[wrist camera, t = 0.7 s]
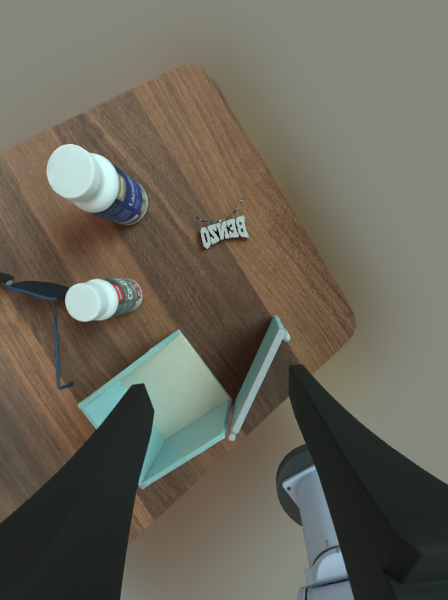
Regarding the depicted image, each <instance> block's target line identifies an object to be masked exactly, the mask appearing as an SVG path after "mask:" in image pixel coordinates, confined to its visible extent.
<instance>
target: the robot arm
mask: <svg viewBox="0 0 448 600" xmlns="http://www.w3.org/2000/svg"><path fill="white" fill-rule="evenodd" d="M289 397H290V400H291V404H292V408H293V411H294V415H295V418H296V420H297V423H298V425H299V428H300V430H301V433H302V435H303V437H304V440H305V442H306V445H307V448H308V450H309V453H310V455H311V458H312V460H313V463H314V464H313V465H311V466H309V467H308V468H306V469H304V470H302V471H300V472H298V473H297V474H295V475H293V476H291V477H289V478H287V479H286V480H284V481H283V482H282V485H283V488H284V489H285V490H286V491H287V493H288V494H289V495H290V497H291V498H292V499H293V501H294V502H295V503H296V505H297V506H298V507H299V509H300V515H301V521H302V526H303V532H304V538H305V543H306V548H307V554H308V560H309V565H310V568H308V569H305V575H306V581H307V587H306V586H305V587H301V588H300V590H299V594H298V599H297V600H448V485H447V484H446V483H444V482H442V481H441V480H439V479H437V478H436V477H434V476H433V475H431V474H430V473H428V472H427V471H425V470H424V469H422V468H420V467H419V466H418V465H416V464H415V463H413V462H412V461H411V460H409V459H408V458H406V457H405V456H403V455H402V454H401V453H399V452H398V451H396V450H395V449H393V448H392V447H391V446H389V445H388V444H386V443H385V442H384V441H383V440H381V439H380V438H379V437H378V436H376V435H375V434H373V433H372V432H371V431H370V430H369V429H367V428H366V427H365V426H364V425H363V424H361V423H360V422H359V421H358V420H357V419H356V418H355V417H353V416H352V415H351V414H350V413H349V412H348V411H347V410H346V409H344V407H342V406H341V405H340V404H339V403H338V402H337V401H336V400H335V399H334V398H333V397H332V396H331V395H330V394H329V393H328V392H327V391H326V390H325V389H324V388H323V387H322V386H321V385H320V383H318V381H317V380H316V379H315V378H314V377H313V376H312V375H311V374H310V372H309V371H308V370H307V369H306V368H305V367H304V366H303V365H302V364H300V365H292V366H289ZM154 412H155V410H154V408H153V405H152V403H151V400H150V397H149V395H148V392H147V389H146V387H145V384H144V383H141V384H133V385H131V386H130V388H129V389H128V390H127V392H126V393H125V394H124V395H123V397H122V398H121V399H120V401H119V402H118V403H117V405H116V406H115V407H114V408H113V410H112V411H111V412H110V413H109V415H108V416H107V417H106V418H105V420H104V421H103V422H102V423H101V425H100V426H99V427H98V428H97V430H96V431H95V432H94V433H93V434H92V435H91V437H90V438H89V439H88V440H87V441H86V442H85V444H84V445H83V446H82V447H81V448H80V449H79V450H78V451H77V452H76V454H75V455H74V456H73V457H72V458H71V459H70V460H69V461H68V462H67V463H66V464H65V465H64V466H63V467H62V468H61V469H60V470H59V471H58V472H57V473H56V474H55V475H54V476H53V477H52V478H51V479H50V480H49V481H48V482H47V483H45V484H44V485H43V486H42V487H41V488H40V489H39V490H38V491H37V492H36V493H35V494H34V495H33V496H32V497H30V498H29V499H28V500H27V501H26V502H25V503H24V504H23V505H21V506H20V507H19V508H18V509H17V510H16V511H15V512H13V513H12V514H11V515H10V516H9V517H7V518H6V519H5V520H4V521H3V522H1V523H0V600H120V595H121V587H122V579H123V572H124V564H125V557H126V550H127V544H128V537H129V531H130V524H131V518H132V513H133V507H134V501H135V496H136V491H137V487H138V483H139V479H140V475H141V471H142V468H143V464H144V460H145V456H146V452H147V449H148V445H149V441H150V437H151V433H152V426H153V419H154ZM287 487H290V488H287Z"/></svg>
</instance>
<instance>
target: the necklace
mask: <svg viewBox="0 0 448 600" xmlns="http://www.w3.org/2000/svg"><path fill="white" fill-rule="evenodd" d="M241 199H243V197H242V198H241ZM241 202H242V201H240V203H241ZM239 206H240V204H239V205H238V207H237V208H239ZM236 210H237V209H236ZM236 210H235V211H234V212H236ZM234 212H233V213H234ZM233 213H232V214H231V216H232V215H233ZM193 216H194V217H195V218H197V217H196V216H195V215H193ZM231 216H230V217H231ZM228 218H229V216H228ZM197 219H198V220H200V221H203V222H205V221H204V220H201V219H199V218H197ZM226 219H227V218H225V219H223V220H219V221H218V222H219V223H217V221H216V222H215V223H217V224H214V225H210V226H208V229H207V228H206V227H204V228H201V232H200V233H201V237H202V241H203V244H204V247H205V248H206V249H208V248H209V247H211V242H212V245H214V244H215V243H217V242H219V241H220V239H221V240H224V232H225V239H228V238H230V237H231V238H237V237H239V235H240V236H241V237H243V238H249V235H248V233H247V231H246V227H245V223H244V222H245V219H244V216H241V217H237V219H236V222H235V219H231V220H227V221H224V220H226ZM222 221H224V222H222ZM226 222H227V223H226ZM207 223H208V222H207ZM209 223H211V222H209ZM212 223H214V222H212ZM220 223H222V226H221V224H220ZM239 223H242V225H240V224H239ZM235 224H237V227H238V232H239V234H238V233H237V230H236V226H235ZM230 225H232V227H230ZM226 226H228V227H230V228H231V231H232V230H233V231H234V233H232V232H231V231H229V234H230V235H229V234H228V232H227V228H226ZM217 228H218V231H219V235H220V239H219V237H218V236H217V235H216V233H215V232H216V231H217ZM241 229H243V231H244V232H241ZM213 230H215V232H214V231H213ZM209 231H210V233H211V234H212V235H213V237H214V239H213V237H211V238H210V234H209ZM205 233H206V236H207V240H208V242H206V238H205V235H204V234H205Z"/></svg>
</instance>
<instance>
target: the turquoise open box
mask: <svg viewBox="0 0 448 600" xmlns="http://www.w3.org/2000/svg"><path fill="white" fill-rule="evenodd" d="M141 383H144V384H145V387H146V389H147V392H148V395H149V397H150V400H151V403H152V405H153V408H154V410H155V412H154V419H153V426H152V433H151V437H150V441H149V445H148V449H147V452H146V456H145V460H144V464H143V468H142V471H141V475H140V479H139V483H138V485H139V487H140V488H141V489H144V488H145V487H146V486H148V485H149V484H151V483H153V482H154V481H156V480H157V479H159V478H161V477H162V476H164V475H165V474H167V473H169V472H170V471H172V470H174V469H175V468H177V467H178V466H180V465H182V464H183V463H185V462H186V461H188V460H190V459H191V458H193V457H195V456H196V455H198V454H199V453H201V452H203V451H204V450H206V449H207V448H209V447H211V446H212V445H214V444H216V443H217V442H219V441H220V440H222V439H224V438H225V434H226V429H227V424H228V419H229V414H230V408H231V403H232V398H231V397H230V396H229V394H228V393H227V392H226V390H225V389H224V388H223V386H222V385H221V384H220V382H219V381H218V380H217V379H216V377H215V376H214V375H213V373H212V372H211V371H210V369H209V368H208V367H207V365H206V364H205V363H204V361H203V360H202V359H201V358H200V356H199V355H198V354H197V352H196V351H195V350H194V348H193V347H192V346H191V344H190V343H189V342H188V340H187V339H186V338H185V337H184V335H183V334H182V333H181V331H180V330H179V329H178V330H176V331H174V332H173V333H171V334H170V335H169V336H167V337H166V338H164V339H163V340H162V341H160V342H159V343H157V344H156V345H155V346H153V347H152V348H151V349H150V350H149V351H148V352H147V353H146V354H144V355H143V356H142V357H140V358H139V359H138V360H136V361H135V362H134V363H132V364H131V365H130V366H128V367H127V368H126V369H124V370H123V371H122V372H121V373H119V374H118V375H116V376H115V377H114V378H112V379H111V380H110V381H108V382H107V383H105V384H104V385H103V386H101V387H100V388H99V389H97V390H96V391H95V392H93V393H92V394H91V395H89V396H88V397H86V398H85V399H84V400H82V401H81V402H80V403H79V404H78V408H79V409H81V411H82V412H83V413H84V415H85V416H86V417H87V419H88V420H89V421H90V422H91V424H92V425H93V426H94V428H95V429H96V430H97V428H98V427H99V426H100V425H101V423H102V422H103V421H104V420H105V418H106V417H107V416H108V415H109V413H110V412H111V411H112V410H113V408H114V407H115V406H116V405H117V403H118V402H119V401H120V399H121V398H122V397H123V395H124V394H125V393H126V392H127V390H128V389H129V388H130V386H131V385H133V384H141ZM236 403H237V397H236V398H235V403H234V409H233V415H232V420H231V426H230V432H229V440H231V441H234V440H235V436H236V433H235V432H233V431H232V427H233V422H234V415H235V409H236Z"/></svg>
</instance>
